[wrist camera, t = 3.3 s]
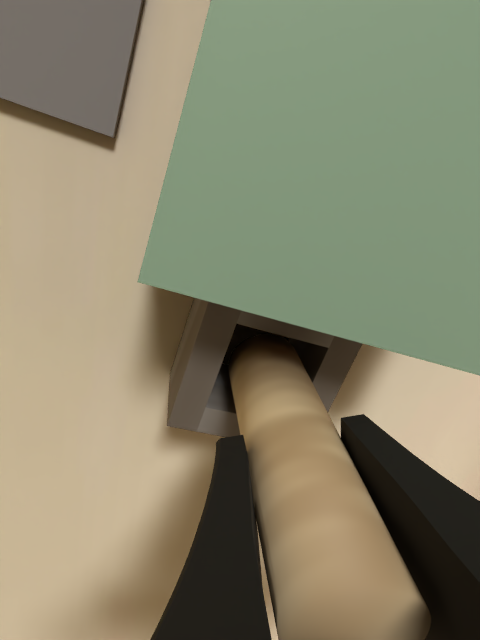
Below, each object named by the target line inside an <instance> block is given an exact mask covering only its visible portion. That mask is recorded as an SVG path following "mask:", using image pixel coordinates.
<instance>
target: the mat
mask: <svg viewBox="0 0 480 640" xmlns="http://www.w3.org/2000/svg"><path fill="white" fill-rule="evenodd" d="M143 1H144V0H0V98H3V99H5V100H8V101H11V102H14V103H17V104H20V105H22V106H25V107H28V108H31V109H34V110H36V111H39V112H42V113H45V114H48V115H51V116H53V117H56V118H59V119H62V120H65V121H68V122H70V123H73V124H76V125H79V126H82V127H85V128H87V129H90V130H93V131H96V132H99V133H102V134H104V135H107V136H110V137H113V138H114V137H115V134H116V129H117V125H118V120H119V115H120V110H121V106H122V101H123V96H124V91H125V87H126V82H127V77H128V72H129V68H130V63H131V58H132V53H133V49H134V44H135V39H136V34H137V30H138V25H139V20H140V15H141V11H142V6H143Z"/></svg>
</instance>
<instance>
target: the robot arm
mask: <svg viewBox="0 0 480 640" xmlns="http://www.w3.org/2000/svg"><path fill="white" fill-rule="evenodd" d="M341 440H342V442H343V444H344V446H345V448H346V449H347V451H348V453H349V455H350V457H351V459H352V461H353V463H354V465H355V467H356V469H357V471H358V473H359V475H360V477H361V479H362V481H363V483H364V485H365V487H366V488H367V490H368V492H369V494H370V496H371V498H372V500H373V502H374V504H375V506H376V508H377V510H378V512H379V514H380V516H381V518H382V520H383V522H384V524H385V525H386V527H387V529H388V531H389V533H390V535H391V537H392V539H393V541H394V543H395V545H396V547H397V549H398V551H399V553H400V555H401V557H402V559H403V561H404V563H405V564H406V566H407V568H408V570H409V572H410V574H411V576H412V578H413V580H414V582H415V584H416V586H417V588H418V590H419V592H420V594H421V596H422V598H423V600H424V601H425V603H426V605H427V607H428V609H429V612H430V615H431V625H430V629H429V632H428V634H427V636H426V638H425V639H424V640H480V501H478V500H477V499H475V498H474V497H472V496H471V495H469V494H468V493H466V492H465V491H463V490H462V489H460V488H459V487H457V486H456V485H455V484H453V483H452V482H450V481H449V480H447V479H446V478H444V477H443V476H442V475H440V474H439V473H437V472H436V471H435V470H433V469H432V468H431V467H429V466H428V465H427V464H425V463H424V462H423V461H421V460H420V459H419V458H418V457H416V456H415V455H414V454H412V453H411V452H410V451H408V450H407V449H406V448H405V447H403V446H402V445H401V444H400V443H398V442H397V441H396V440H395V439H393V438H392V437H391V436H390V435H388V434H387V433H386V432H385V431H384V430H382V429H381V428H380V427H379V426H377V425H376V424H375V423H374V422H373V421H371V420H370V419H369V418H368V417H366V416H365V415H364V414H362V415H356V416H350V417H344V418H341ZM151 640H271V634H270V629H269V623H268V617H267V612H266V606H265V601H264V595H263V588H262V576H261V565H260V554H259V542H258V531H257V523H256V515H255V510H254V504H253V494H252V484H251V477H250V469H249V461H248V454H247V449H246V445H245V440H244V436H243V435H237V436H231V437H225V438H220V439H219V440H218V441H217V442H216V456H215V464H214V469H213V474H212V479H211V484H210V488H209V492H208V495H207V499H206V503H205V507H204V510H203V514H202V517H201V520H200V523H199V526H198V529H197V532H196V535H195V538H194V541H193V544H192V547H191V549H190V552H189V555H188V557H187V560H186V562H185V565H184V568H183V570H182V572H181V575H180V577H179V580H178V582H177V584H176V587H175V589H174V591H173V593H172V596H171V598H170V600H169V602H168V604H167V606H166V609H165V611H164V613H163V615H162V617H161V619H160V621H159V623H158V626H157V628H156V630H155V632H154V634H153V636H152V638H151Z"/></svg>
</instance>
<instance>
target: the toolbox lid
mask: <svg viewBox="0 0 480 640" xmlns="http://www.w3.org/2000/svg"><path fill="white" fill-rule="evenodd" d="M138 282H139V283H143V284H146V285H150V286H154V287H157V288H161V289H165V290H168V291H172V292H176V293H179V294H183V295H187V296H190V297H194V298H198V299H201V300H205V301H209V302H212V303H216V304H220V305H223V306H227V307H231V308H234V309H238V310H242V311H245V312H249V313H253V314H256V315H260V316H264V317H267V318H271V319H275V320H278V321H282V322H286V323H289V324H293V325H297V326H300V327H304V328H308V329H311V330H315V331H319V332H322V333H326V334H330V335H333V336H337V337H341V338H344V339H348V340H352V341H355V342H359V343H363V344H366V345H370V346H374V347H377V348H381V349H385V350H388V351H392V352H396V353H399V354H403V355H407V356H410V357H414V358H418V359H421V360H425V361H429V362H432V363H436V364H440V365H443V366H447V367H451V368H454V369H458V370H462V371H465V372H469V373H473V374H476V375H480V0H211V2H210V6H209V10H208V14H207V18H206V21H205V25H204V29H203V33H202V37H201V41H200V44H199V48H198V52H197V56H196V60H195V64H194V68H193V71H192V75H191V79H190V83H189V87H188V91H187V94H186V98H185V102H184V106H183V110H182V114H181V117H180V121H179V125H178V129H177V133H176V137H175V140H174V144H173V148H172V152H171V156H170V160H169V163H168V167H167V171H166V175H165V179H164V183H163V186H162V190H161V194H160V198H159V202H158V206H157V209H156V213H155V217H154V221H153V225H152V229H151V233H150V236H149V240H148V244H147V248H146V252H145V256H144V259H143V263H142V267H141V271H140V275H139V279H138Z"/></svg>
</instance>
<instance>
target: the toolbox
mask: <svg viewBox="0 0 480 640" xmlns="http://www.w3.org/2000/svg"><path fill="white" fill-rule="evenodd" d="M236 324H240V325H244V326H247V327H251V328H255V329H259V330H263V331H266V332H270V333H274V334H278V335H282V336H285V337H289V338H290V339H289V341H288V342H290V343H291V344H292V346H293V347H294V348H295V350H296V352H297V354H298V356H299V358H300V360H301V362H302V364H303V366H304V368H305V370H306V372H307V373H308V375H309V377H310V379H311V381H312V383H313V385H314V387H315V389H316V391H317V393H318V395H319V397H320V399H321V401H322V403H323V405H324V407H325V409H326V411H327V412H328V411H329V409H330V407H331V405H332V403H333V401H334V399H335V397H336V395H337V393H338V391H339V389H340V387H341V385H342V383H343V381H344V379H345V377H346V375H347V373H348V371H349V369H350V367H351V365H352V363H353V361H354V359H355V357H356V355H357V353H358V351H359V349H360V347H361V345H362V343H359V342H355V341H352V340H348V339H344V338H341V337H337V336H333V335H330V334H326V333H322V332H319V331H315V330H311V329H308V328H304V327H300V326H297V325H293V324H289V323H286V322H282V321H278V320H275V319H271V318H267V317H264V316H260V315H256V314H253V313H249V312H245V311H242V310H238V309H234V308H231V307H227V306H223V305H220V304H216V303H212V302H209V301H205V300H201V299H198V298H194V300H193V304H192V307H191V310H190V313H189V316H188V319H187V322H186V326H185V329H184V332H183V335H182V338H181V341H180V344H179V347H178V351H177V354H176V357H175V360H174V363H173V366H172V369H171V373H170V382H169V400H168V418H167V426H170V427H175V428H180V429H186V430H191V431H196V432H201V433H207V434H212V435H217V436H222V437H231V436H237V435H240V430H239V424H238V419H237V413H236V408H235V403H234V397H233V392H232V387H231V381H230V376H229V369H228V366H229V365H227V364H222V362H223V359H224V356H225V353H226V351H227V348H228V345H229V343H230V340H231V337H232V334H233V332H234V329H235V326H236Z"/></svg>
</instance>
